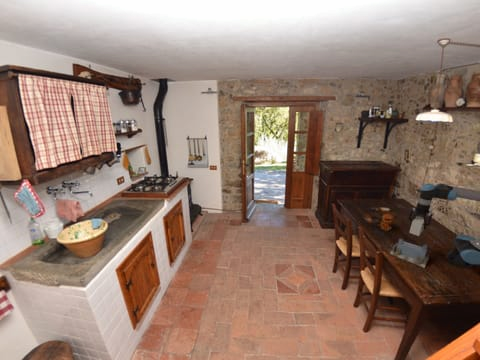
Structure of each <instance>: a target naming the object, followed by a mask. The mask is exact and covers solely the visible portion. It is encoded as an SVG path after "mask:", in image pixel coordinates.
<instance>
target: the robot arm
mask: <svg viewBox="0 0 480 360" xmlns="http://www.w3.org/2000/svg"><path fill="white" fill-rule="evenodd" d="M457 198H459V199H464V200H470V201H476V202H480V190H477V189H476V190H475V189H472V188H471V189H470V188H465V187H458V186H453V185H447V184H445V183H443V182H442V183H436V184H432V183H423V184H422V187H421V190H420V193H419V198H418V201H417V204H416V207H411V208H410V212H409V215H408V219H407V220H409V221H410V222H409V225H410V226H411V225H412V221H413V220H414V219H415V218H416V216H418V215H420V216H422V218H424V224H423V227H422V230H421V233H423V232H424V230H426V229H427V226H430V225H431V223H432V218H433V215H434V212H430V207H431V204H432V201H433V199H437V200H445V201H453V202H454V201H456V200H457ZM415 211H416V214H415V215H414V216H413V214H414V212H415ZM427 215H429V216H428V221H427ZM412 216H413V217H412ZM421 233H420V234H421ZM445 259H446V260H447V261H448V262H450V263H451V264H453V265H455V266H457V267H460V268H464V269H470V268H473V265H480V235H479V236H478V237H473V236H471V235H468V234H464V233H463V234H461V233H460V234H457V235H456V237H455V239H454V243H453V245H452V248H451V250H450V251H449V252H448V253H447V254H446V256H445Z"/></svg>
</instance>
